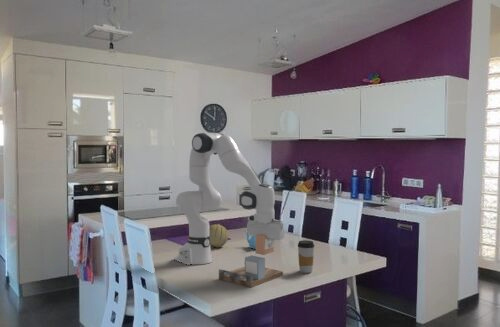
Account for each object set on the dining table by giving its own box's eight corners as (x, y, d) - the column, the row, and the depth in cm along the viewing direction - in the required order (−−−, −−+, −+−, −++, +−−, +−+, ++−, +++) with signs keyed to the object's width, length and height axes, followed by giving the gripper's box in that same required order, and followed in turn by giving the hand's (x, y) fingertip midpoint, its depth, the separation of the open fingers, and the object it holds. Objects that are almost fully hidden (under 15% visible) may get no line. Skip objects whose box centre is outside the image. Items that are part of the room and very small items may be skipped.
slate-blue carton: (251, 274, 200) (251, 255, 200) (265, 277, 195) (265, 258, 195) (244, 276, 196) (244, 257, 196) (257, 280, 191) (257, 260, 191)
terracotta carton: (255, 253, 203) (255, 234, 203) (265, 250, 209) (265, 232, 209) (264, 255, 200) (264, 236, 199) (274, 252, 206) (274, 233, 206)
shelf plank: (218, 279, 199) (218, 269, 199) (251, 268, 218) (251, 259, 218) (250, 287, 186) (250, 277, 186) (282, 275, 205) (282, 266, 205)
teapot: (266, 245, 275) (266, 229, 274) (274, 250, 260) (274, 233, 260) (244, 246, 270) (244, 230, 270) (252, 251, 256) (252, 234, 256)
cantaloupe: (202, 249, 262) (202, 225, 262) (207, 244, 277) (207, 221, 276) (226, 250, 260) (225, 225, 260) (229, 245, 275) (229, 222, 274)
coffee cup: (317, 272, 209) (317, 242, 209) (302, 274, 207) (302, 244, 206) (309, 268, 217) (309, 239, 217) (294, 270, 214) (294, 240, 214)
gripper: (286, 219, 200) (286, 248, 200) (253, 214, 213) (252, 242, 213) (279, 221, 195) (278, 251, 195) (245, 216, 208) (244, 244, 208)
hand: (265, 246), depth 204 cm, fingers closed on terracotta carton, 5 cm apart
